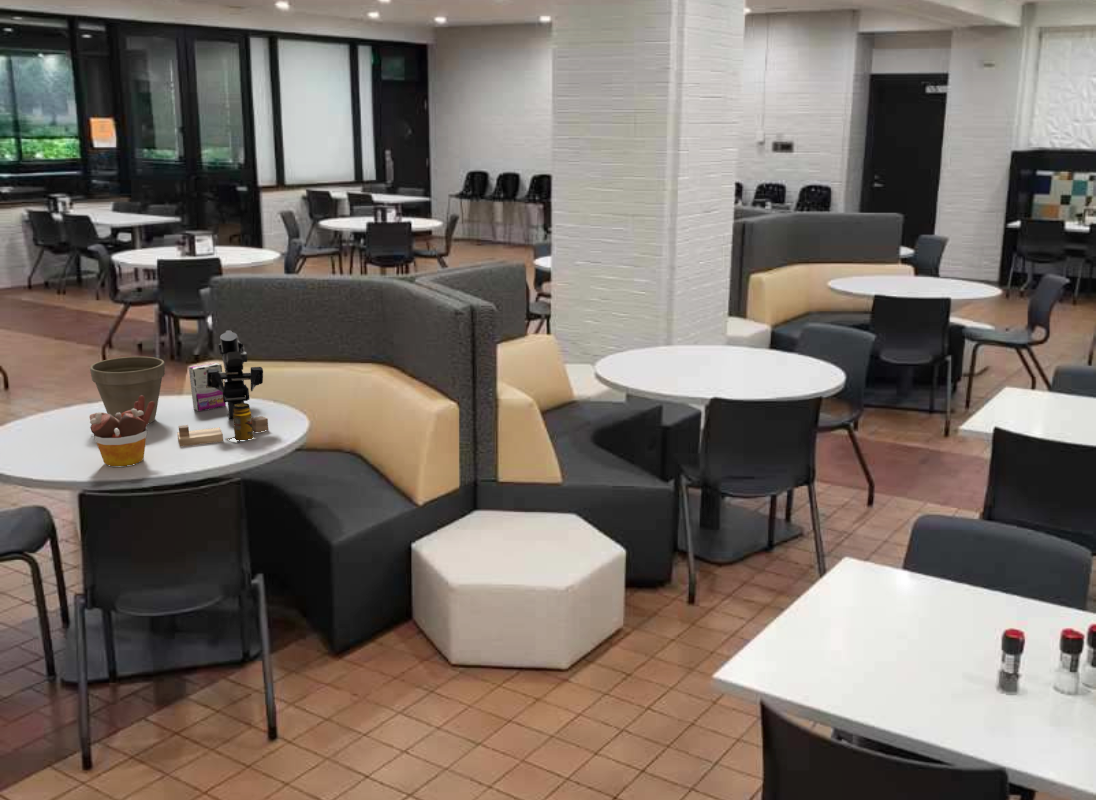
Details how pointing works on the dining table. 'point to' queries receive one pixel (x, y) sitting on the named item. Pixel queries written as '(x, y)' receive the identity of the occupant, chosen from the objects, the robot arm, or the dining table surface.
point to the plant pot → (128, 382)
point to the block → (259, 424)
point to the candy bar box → (205, 388)
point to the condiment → (242, 422)
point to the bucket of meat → (122, 434)
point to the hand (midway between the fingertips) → (238, 391)
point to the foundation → (198, 436)
